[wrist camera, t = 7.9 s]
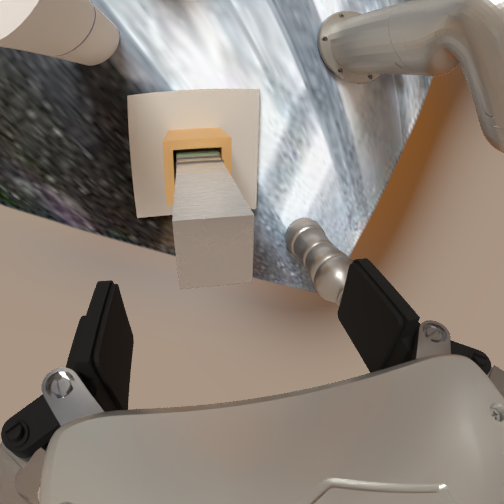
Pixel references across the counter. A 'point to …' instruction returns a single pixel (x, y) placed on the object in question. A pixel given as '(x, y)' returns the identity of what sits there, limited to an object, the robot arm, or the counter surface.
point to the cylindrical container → (58, 29)
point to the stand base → (190, 140)
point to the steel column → (210, 222)
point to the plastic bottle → (319, 258)
